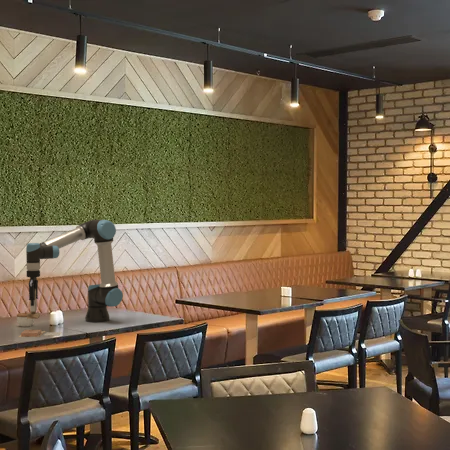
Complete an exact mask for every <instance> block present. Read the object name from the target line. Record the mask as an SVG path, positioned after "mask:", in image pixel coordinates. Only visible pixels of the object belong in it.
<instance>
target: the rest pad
mask: <svg viewBox="0 0 450 450" xmlns="http://www.w3.org/2000/svg"><path fill="white" fill-rule="evenodd" d="M60 335H62V331H61V332H60V331H56V332H55V331H54V332H47V331H46V332H45V333H44V334H42V336H44V337H45V336H49V337H51V336H53V337H55V336H60Z"/></svg>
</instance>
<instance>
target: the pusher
mask: <svg viewBox="0 0 450 450" xmlns="http://www.w3.org/2000/svg"><path fill="white" fill-rule="evenodd" d="M27 313H28V314H27V319H35V320H36V319H37V320H38V319H40V317H41V313H40V312H37V311H36V289H35V311H31V312H27Z"/></svg>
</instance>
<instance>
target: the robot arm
mask: <svg viewBox="0 0 450 450" xmlns="http://www.w3.org/2000/svg"><path fill="white" fill-rule="evenodd" d="M116 229H117V228H116V226H115V224H114V223H113V222H112V221H111V220H108V219H89V221H85V222H83V223H81V224H78V225H76V226H75V228H72V229H71V230H69V231H66V232H64V233H61V234H59V235H57V236H54V237H52V238H50V239H47V240H45V241H43V242H40V243H39V242H29V243H27V244H26V248H25V252H26V264H25V267H26V278H29V282H28V300H29V308H30V309H29V310H30V312H29V313H31V311H35V289H36V312H37V311H38V307H37V306H38V301H37V300H39V297H38V295H39V293H38V292H39V291H38V290H39V285H38V284H39V280H38V279H37V278H40V276H41V260H50V259H51V260H52V259H57V258H58V257H59V256H60V249H61V248H64V247H66V246H68V245H71V244H74V243H76V242H79V241H85V240H87V239H93V241H94V244H95V245H96V246H97V247H96V248H97V254H98V263H99V264H98V265H99V274H100V283H99V284H97V283H96V284H89V285H88V287H87V311H86V314H85V319H84V320H85V321H86V322H89V323H103V322H104V323H105V322H108V321H110V314H109V311H108V307H109V308H111V307H112V308H113V307H114V308H115V307H118V306H119V305H120V303H121V302H122V300H123V298H124V297H123V296H124V295H123V294H124V293H123V292H122V290H121V289H120V288H119V283H118V282H117V281H116V275H115V266H114V256H113V247H112V243H113V242H114V238H115V235H116V233H117V230H116Z"/></svg>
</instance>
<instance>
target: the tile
mask: <svg viewBox="0 0 450 450" xmlns="http://www.w3.org/2000/svg"><path fill="white" fill-rule="evenodd" d="M42 331H43V330H42V329H24V330H23V331H22V332H21V333H20V335H21V336H22V337H21V338H26V337H25V336H38V335H39V334H41V333H42Z"/></svg>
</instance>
